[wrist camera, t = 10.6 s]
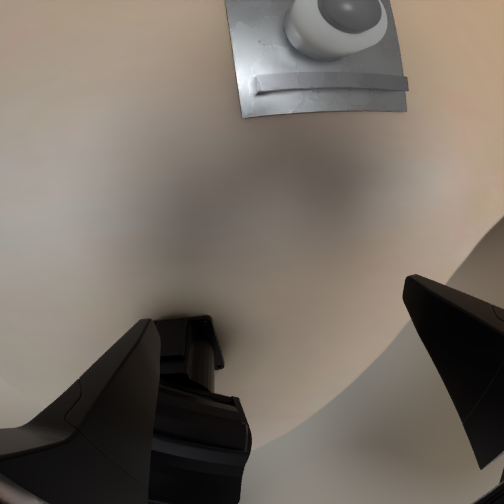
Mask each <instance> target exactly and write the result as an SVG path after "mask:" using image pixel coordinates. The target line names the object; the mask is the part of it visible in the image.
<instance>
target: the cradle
mask: <svg viewBox="0 0 504 504" xmlns="http://www.w3.org/2000/svg"><path fill="white" fill-rule="evenodd" d="M294 1H295V0H225V4H226V11H227V17H228V24H229V31H230V37H231V44H232V51H233V58H234V65H235V71H236V78H237V85H238V92H239V99H240V106H241V113H242V118H248V117H256V116H265V115H275V114H286V113H299V112H316V111H348V110H367V111H399V112H407V106H406V94H405V91H409V89H408V80H407V77H404V76H403V68H402V61H401V54H400V48H399V42H398V37H397V32H396V27H395V22H394V17H393V13H392V9H391V4H390V0H380V1H381V2H382V4H383V6H384V8H385V11H386V14H387V29H386V32H385V34H384V36H383V38H382V39H381V40H380V41H379V42H378V43H376V44H375V45H373V46H370V47H368V48H365V49H363V50H360V51H358V52H356V53H353V54H351V55H348V56H346V57H344V58H341V59H339V60H336V61H318V60H315V59H312V58H309V57H307V56H305V55H303V54H302V53H301V52H299V51H298V50H297V49H296V48H295V47H294V46H293V45H292V44H291V42H290V41H289V39H288V38H287V35H286V33H285V29H284V20H285V16H286V14H287V12H288V10H289V9H290V7H291V6H292V4H293V2H294Z"/></svg>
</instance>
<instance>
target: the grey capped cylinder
mask: <svg viewBox="0 0 504 504" xmlns="http://www.w3.org/2000/svg"><path fill="white" fill-rule="evenodd" d="M284 29H285V33H286V35H287V38H288V39H289V41H290V42H291V44H292V45H293V46H294V47H295V48H296V49H297V50H298V51H299V52H301V53H302V54H303V55H305V56H307V57H309V58H312V59H315V60H318V61H336V60H339V59H341V58H344V57H346V56H348V55H351V54H353V53H356V52H358V51H360V50H363V49H365V48H368V47H370V46H373V45H375V44H376V43H378V42H379V41H380V40H381V39H382V38H383V36H384V34H385V32H386V29H387V14H386V11H385V8H384V6H383V4H382V2H381V1H380V0H295V1H294V2H293V4H292V6H291V7H290V9H289V10H288V12H287V14H286V16H285V20H284Z"/></svg>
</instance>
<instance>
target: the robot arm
mask: <svg viewBox="0 0 504 504" xmlns="http://www.w3.org/2000/svg"><path fill="white" fill-rule="evenodd" d="M403 301H404V304H405V306H406V308H407V310H408V312H409V315H410V317H411V319H412V321H413V324H414V326H415V328H416V330H417V333H418V335H419V336H420V338H421V340H422V342H423V344H424V346H425V347H426V349H427V351H428V353H429V355H430V357H431V359H432V361H433V363H434V364H435V366H436V368H437V370H438V372H439V374H440V376H441V378H442V380H443V382H444V384H445V386H446V389H447V390H448V393H449V395H450V397H451V399H452V401H453V403H454V406H455V408H456V410H457V412H458V414H459V417H460V419H461V421H462V423H463V426H464V429H465V431H466V433H467V436H468V439H469V441H470V444H471V446H472V449H473V451H474V454H475V457H476V460H477V462H478V465H479V468H480V469H481V470H482V469H484V468H485V467H486V466H488V465H489V464H491V463H492V462H493V461H495V460H496V459H498V458H499V457H500V456H502V455H503V454H504V309H502V308H500V307H497V306H495V305H491V304H490V303H488V302H485V301H483V300H480V299H478V298H476V297H473V296H471V295H468V294H466V293H463V292H461V291H458V290H456V289H453V288H451V287H448V286H446V285H443V284H441V283H438V282H435V281H433V280H430V279H428V278H425V277H422V276H420V275H417V274H414V275H410V276H407V277H406V279H405V284H404V289H403ZM204 321H208V323H205V322H204ZM218 364H220V365H218ZM223 368H224V360H223V356H222V353H221V350H220V346H219V343H218V339H217V336H216V332H215V328H214V325H213V321H212V319H211V317H209V316H200V317H192V318H182V319H174V320H164V321H156V322H153V320H152V319H150V318H149V319H141V320H139V321H138V322H137V323H136V324H135V325H134V326H133V327H132V328H131V329H130V330H129V331H127V332H126V333H125V334H124V335H123V336H122V337H121V338H120V339H119V340H118V341H117V342H116V343H115V344H114V345H113V346H112V347H111V348H110V349H109V350H107V351H106V352H105V353H104V354H103V355H102V356H101V357H100V358H99V359H98V360H97V361H96V362H95V363H94V364H93V365H92V366H91V367H90V368H89V369H88V370H87V371H86V372H85V373H84V374H83V375H82V376H81V377H80V378H79V379H77V380H76V381H75V382H74V383H73V384H72V385H71V386H70V387H69V388H68V389H67V390H66V391H65V392H64V393H63V394H62V395H61V396H59V397H58V398H57V399H56V400H55V401H54V402H52V403H51V404H50V405H49V406H48V407H46V408H45V409H44V410H43V411H42V412H40V413H39V414H38V415H37V416H36V417H35V418H33V419H32V420H31V421H30V422H28V423H27V424H25V425H23V426H20V427H17V428H8V429H7V428H6V429H0V504H238V503H239V500H240V492H241V482H242V475H243V471H244V466H245V464H246V462H247V460H248V458H249V455H250V452H251V446H252V436H251V431H250V428H249V425H248V422H247V419H246V417H245V414H244V411H243V408H242V406H241V403H240V400H239V398H238V397H234V396H231V397H229V396H224V395H220V394H216V393H214V370H220V369H223ZM472 504H504V469H503V473H502V476H501V480H500V483H499V485H497V486H496V487H495V488H493V489H492V490H491V491H489V492H488V493H486V494H485V495H483V496H482V497H481V498H479V499H478V500H476V501H475V502H473V503H472Z"/></svg>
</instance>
